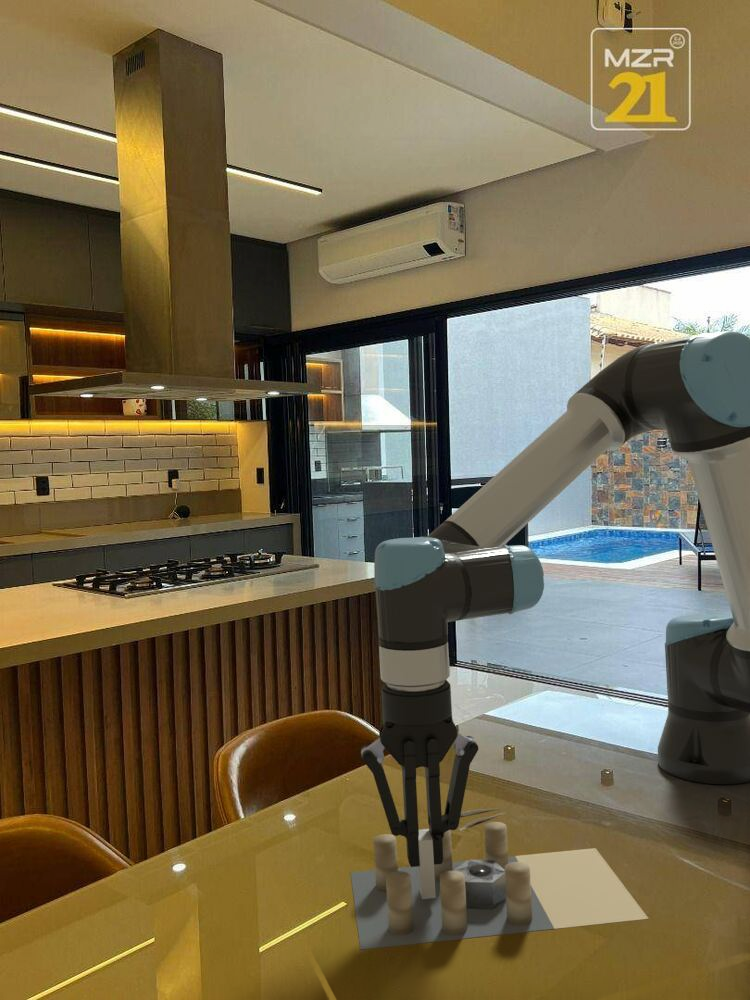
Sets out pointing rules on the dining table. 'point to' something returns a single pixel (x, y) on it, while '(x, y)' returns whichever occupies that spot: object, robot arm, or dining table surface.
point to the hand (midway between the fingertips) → (427, 891)
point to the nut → (483, 884)
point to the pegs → (450, 883)
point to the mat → (554, 899)
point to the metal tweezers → (478, 819)
